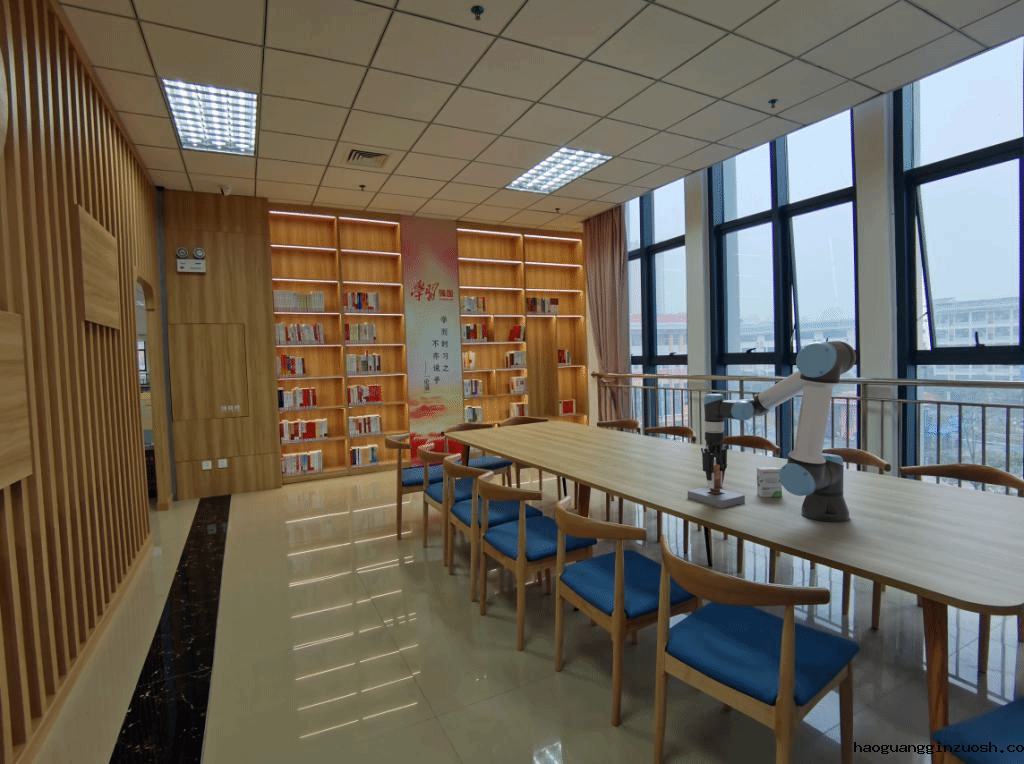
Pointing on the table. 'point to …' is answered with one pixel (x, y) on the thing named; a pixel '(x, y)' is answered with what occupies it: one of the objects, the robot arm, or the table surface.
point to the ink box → (769, 482)
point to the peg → (716, 479)
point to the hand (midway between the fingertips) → (715, 486)
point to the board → (716, 497)
